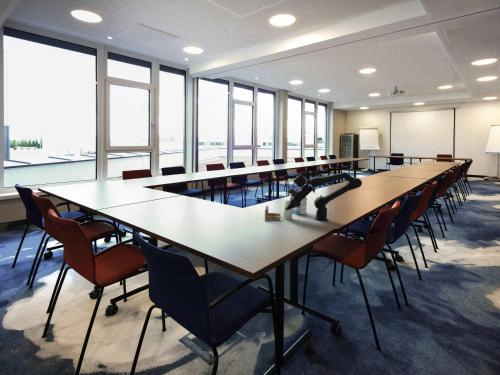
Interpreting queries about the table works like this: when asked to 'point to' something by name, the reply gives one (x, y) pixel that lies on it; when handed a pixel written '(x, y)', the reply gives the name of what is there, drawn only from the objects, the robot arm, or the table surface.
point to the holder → (271, 215)
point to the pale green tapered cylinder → (287, 212)
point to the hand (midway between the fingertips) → (286, 208)
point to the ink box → (301, 207)
